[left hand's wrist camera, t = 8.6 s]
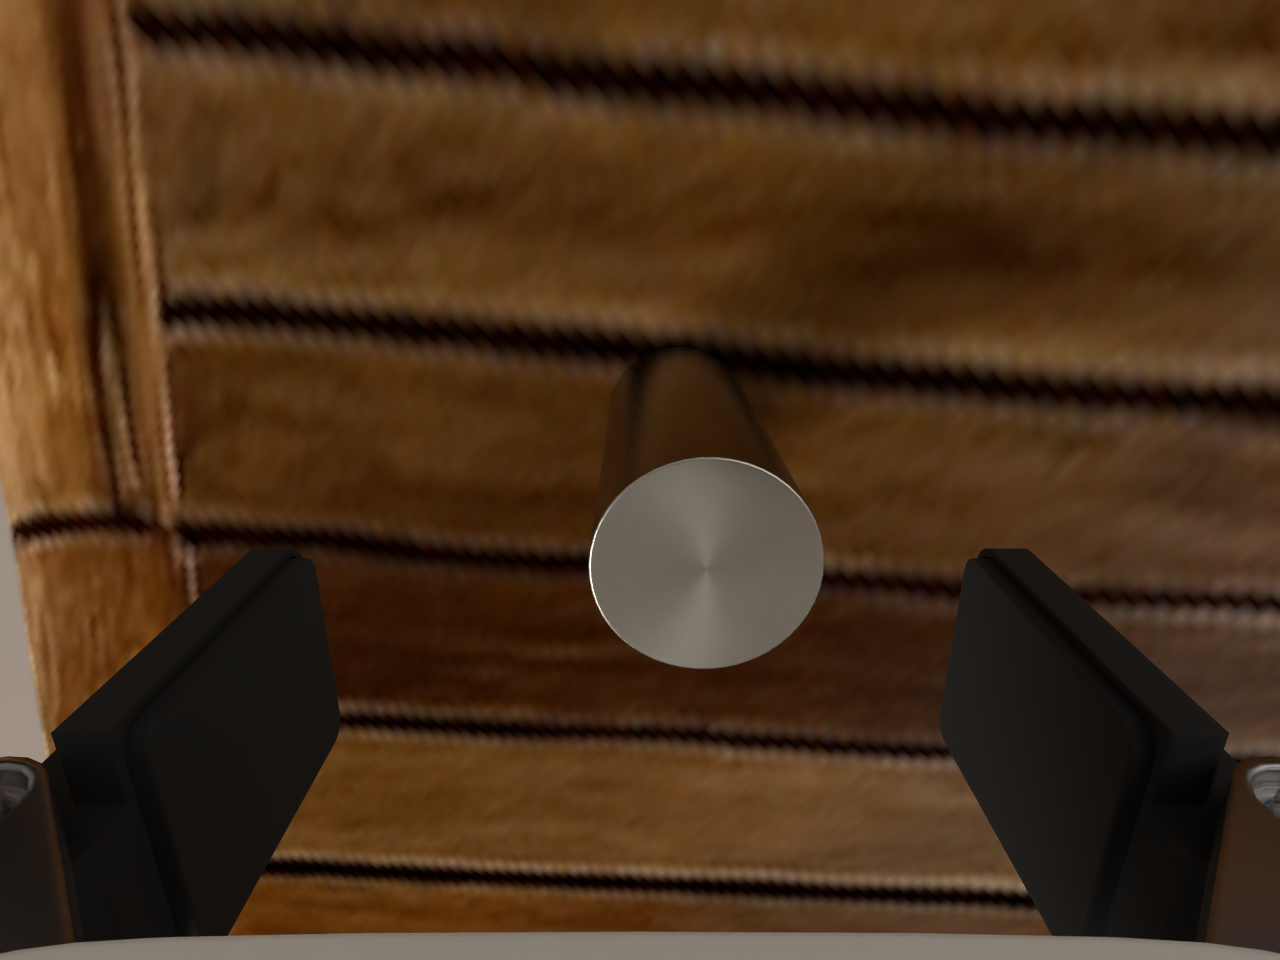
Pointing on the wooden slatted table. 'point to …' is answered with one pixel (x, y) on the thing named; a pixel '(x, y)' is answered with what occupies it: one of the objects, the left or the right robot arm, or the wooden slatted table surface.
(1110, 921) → the left robot arm
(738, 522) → the tin
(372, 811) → the wooden slatted table surface
